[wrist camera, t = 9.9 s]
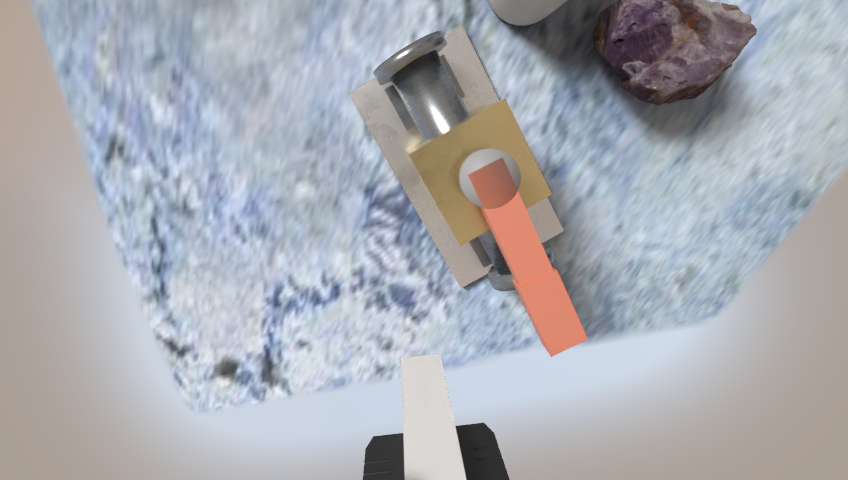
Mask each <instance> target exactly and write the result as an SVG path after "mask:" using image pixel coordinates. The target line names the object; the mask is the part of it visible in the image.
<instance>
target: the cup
mask: <svg viewBox="0 0 848 480" xmlns="http://www.w3.org/2000/svg"><path fill="white" fill-rule="evenodd" d="M566 1H568V0H488V2H489V4H490V6H491V8H492V10H493V11H494V12H495V13H496V14H497V15H498V17H499V18H501V19H503V20H504V21H506V22H507V23H510V24H514V25H517V26H525V25H530V24H534V23H537V22H539V21H541V20H542V19H544V18H545V17H547V16H548V15H550V14H551V13H552V12H554V11H555V10H556V9H557V8H559V7H560V6H561V5H563V4H564V3H565V2H566Z"/></svg>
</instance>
